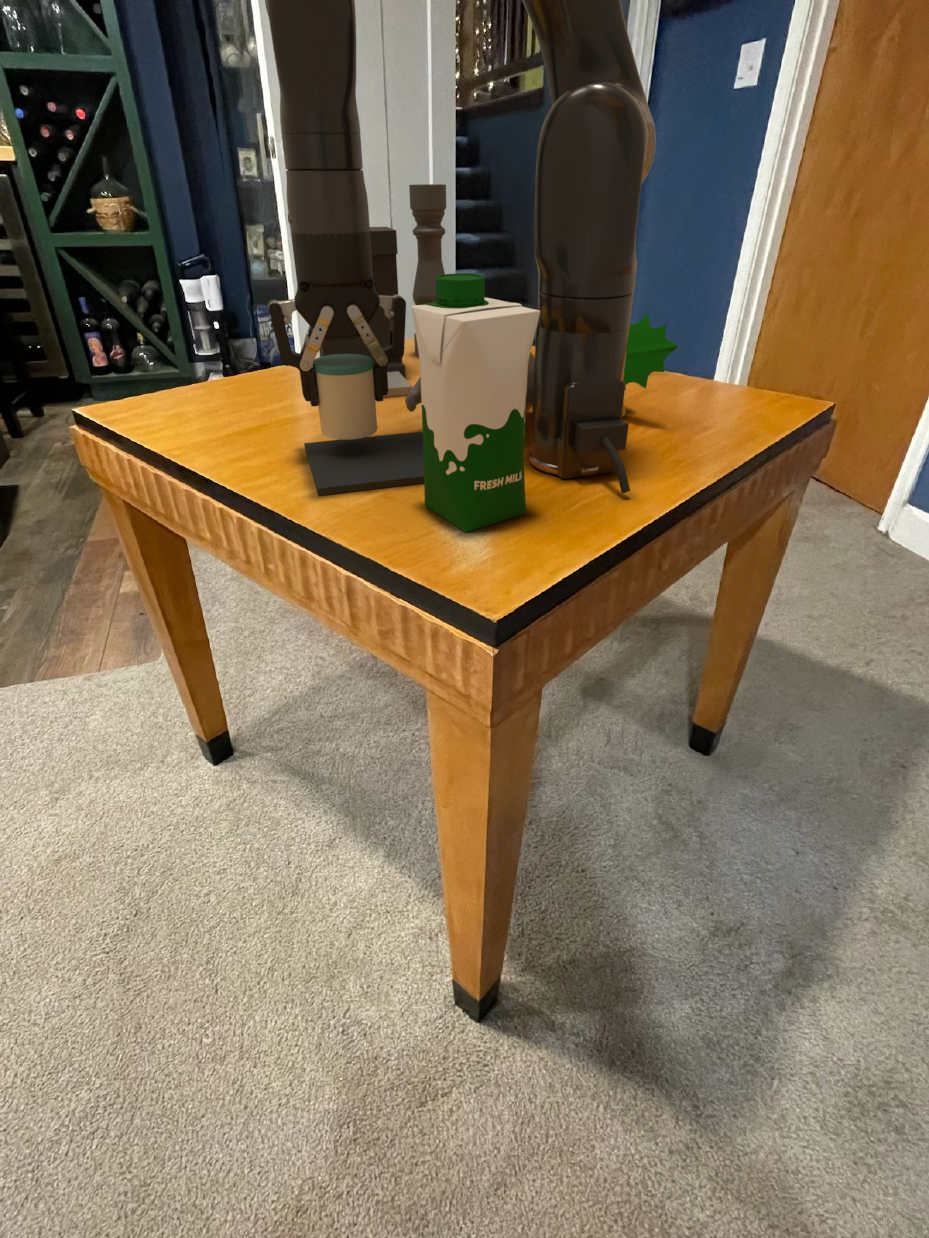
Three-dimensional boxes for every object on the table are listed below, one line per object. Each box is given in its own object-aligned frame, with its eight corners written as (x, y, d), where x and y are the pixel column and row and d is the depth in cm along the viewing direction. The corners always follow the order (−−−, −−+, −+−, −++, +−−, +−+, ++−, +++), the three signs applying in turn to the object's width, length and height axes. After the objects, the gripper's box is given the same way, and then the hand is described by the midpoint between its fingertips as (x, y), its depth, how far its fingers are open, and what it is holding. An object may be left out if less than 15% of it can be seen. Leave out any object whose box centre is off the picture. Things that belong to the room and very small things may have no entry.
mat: (452, 479, 72) (452, 472, 72) (318, 496, 69) (317, 488, 68) (421, 437, 83) (421, 431, 83) (305, 449, 80) (304, 443, 80)
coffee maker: (418, 394, 99) (412, 236, 88) (335, 401, 96) (317, 239, 85) (395, 366, 113) (386, 226, 102) (321, 372, 110) (304, 229, 99)
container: (382, 437, 75) (377, 365, 71) (323, 442, 73) (315, 370, 69) (373, 419, 80) (368, 352, 76) (317, 424, 78) (309, 356, 74)
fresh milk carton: (484, 485, 71) (487, 269, 60) (540, 515, 65) (554, 281, 54) (411, 505, 67) (399, 278, 56) (463, 540, 61) (461, 292, 49)
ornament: (643, 452, 92) (710, 345, 84) (614, 452, 86) (684, 336, 78) (535, 376, 100) (587, 272, 93) (501, 370, 94) (554, 258, 86)
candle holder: (431, 348, 123) (426, 184, 109) (457, 353, 120) (455, 184, 106) (407, 355, 119) (399, 185, 106) (434, 360, 116) (429, 185, 102)
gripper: (253, 231, 61) (281, 418, 70) (412, 228, 64) (418, 406, 74) (251, 225, 67) (277, 398, 76) (396, 222, 70) (404, 388, 80)
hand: (346, 401), depth 75 cm, fingers closed on container, 6 cm apart
